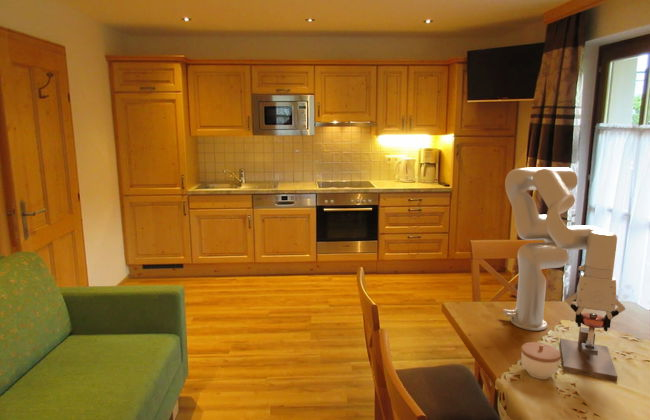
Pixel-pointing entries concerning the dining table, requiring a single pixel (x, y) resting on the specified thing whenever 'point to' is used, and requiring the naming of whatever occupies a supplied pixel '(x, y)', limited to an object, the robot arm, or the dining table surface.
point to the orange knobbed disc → (592, 327)
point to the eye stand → (580, 364)
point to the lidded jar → (540, 359)
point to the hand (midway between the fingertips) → (591, 326)
